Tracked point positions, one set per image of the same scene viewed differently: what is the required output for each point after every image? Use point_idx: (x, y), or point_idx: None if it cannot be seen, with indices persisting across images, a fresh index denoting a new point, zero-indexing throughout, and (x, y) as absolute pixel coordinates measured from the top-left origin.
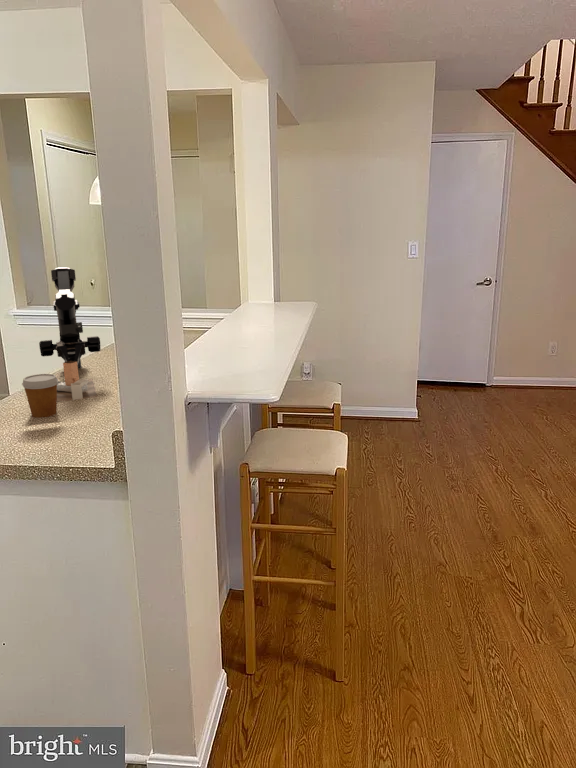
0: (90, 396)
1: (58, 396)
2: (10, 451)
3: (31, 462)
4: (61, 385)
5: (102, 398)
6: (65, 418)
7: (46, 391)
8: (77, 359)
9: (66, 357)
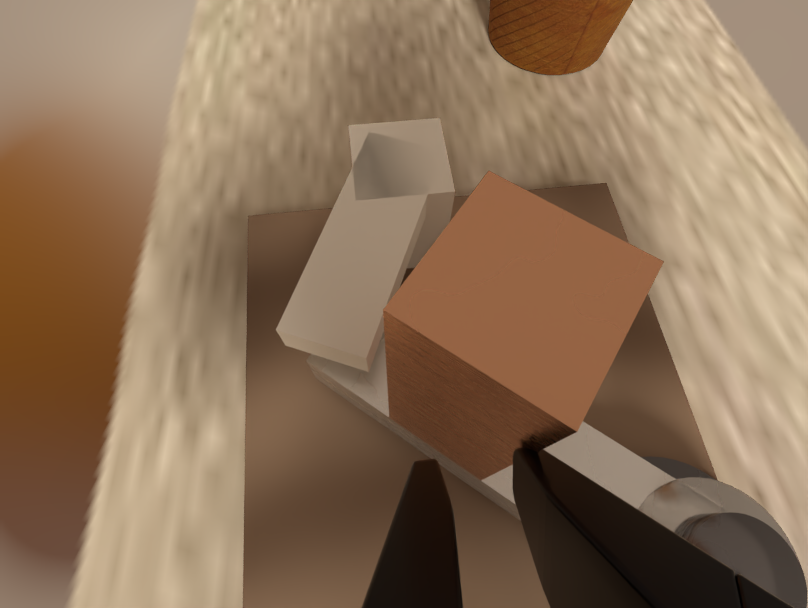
0: (300, 249)
1: None
2: None
3: None
4: (582, 424)
5: (218, 284)
6: (437, 7)
7: None
8: (389, 567)
9: (727, 591)
